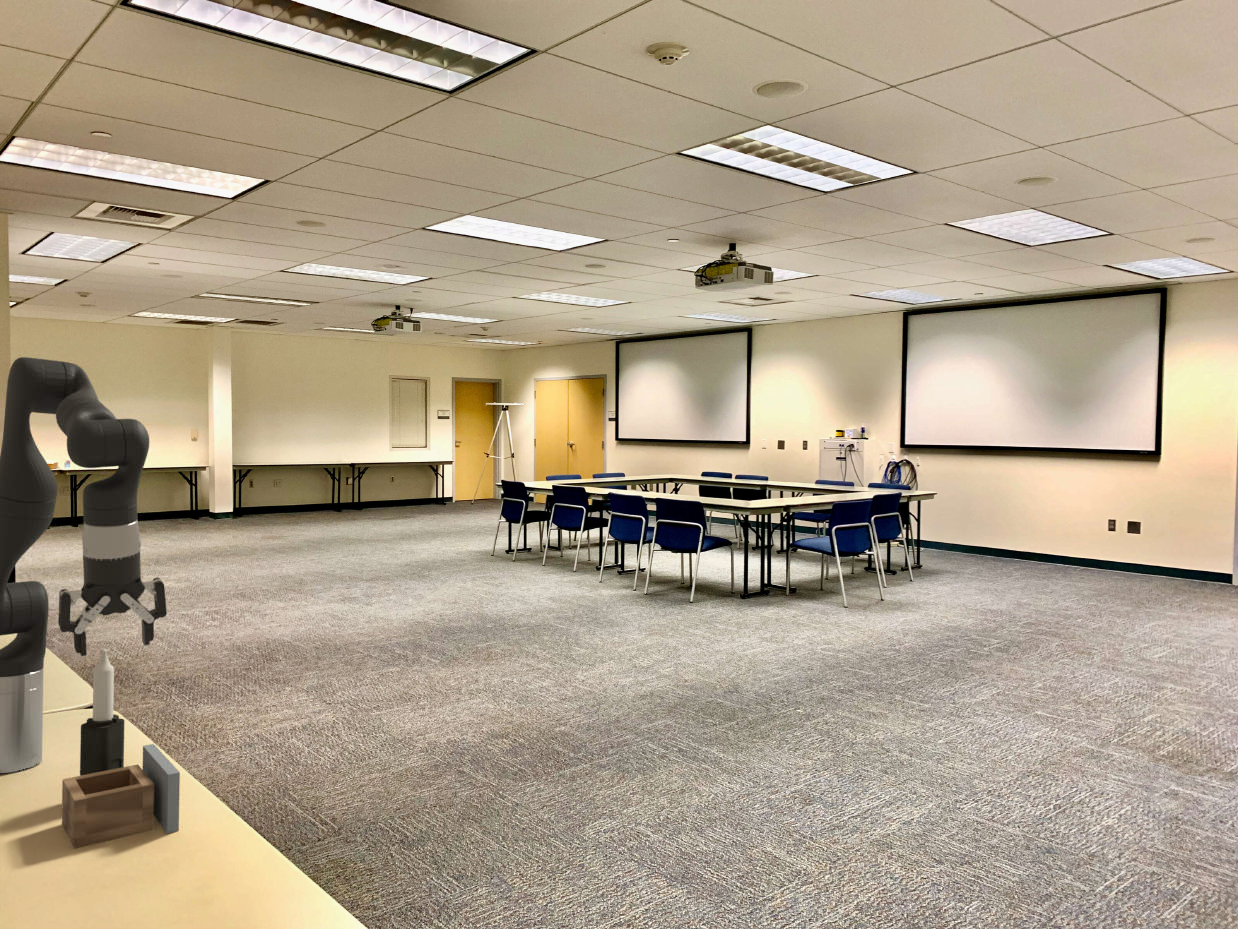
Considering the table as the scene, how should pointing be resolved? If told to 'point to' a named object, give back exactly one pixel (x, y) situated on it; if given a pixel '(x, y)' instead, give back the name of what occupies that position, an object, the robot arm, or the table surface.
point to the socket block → (107, 805)
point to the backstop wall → (163, 787)
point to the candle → (102, 725)
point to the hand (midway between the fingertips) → (114, 648)
